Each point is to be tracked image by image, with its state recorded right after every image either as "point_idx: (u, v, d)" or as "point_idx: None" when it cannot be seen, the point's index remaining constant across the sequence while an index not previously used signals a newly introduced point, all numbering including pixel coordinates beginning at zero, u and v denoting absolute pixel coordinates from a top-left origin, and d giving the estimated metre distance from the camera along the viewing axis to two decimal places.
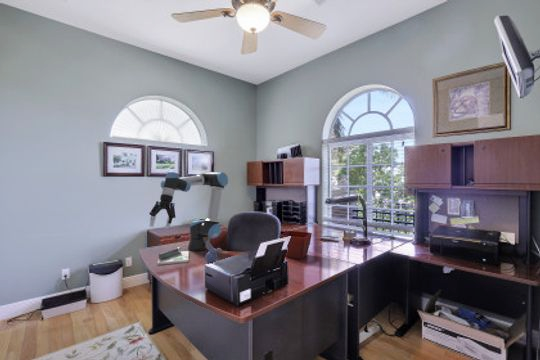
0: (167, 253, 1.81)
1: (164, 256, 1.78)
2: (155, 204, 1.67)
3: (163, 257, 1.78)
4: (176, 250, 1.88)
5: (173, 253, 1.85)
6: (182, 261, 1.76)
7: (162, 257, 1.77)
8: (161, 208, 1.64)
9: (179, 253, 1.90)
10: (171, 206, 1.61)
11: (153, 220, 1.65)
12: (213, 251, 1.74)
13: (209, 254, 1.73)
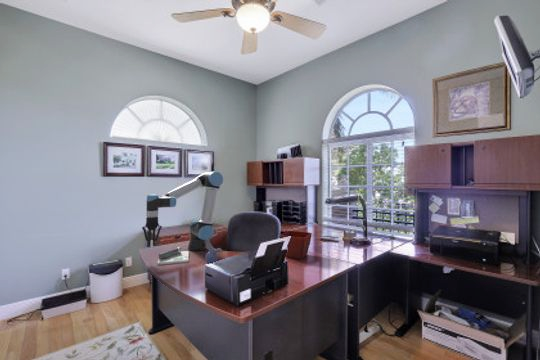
0: (167, 253, 1.81)
1: (164, 256, 1.78)
2: (143, 230, 1.74)
3: (163, 257, 1.78)
4: (176, 250, 1.88)
5: (173, 253, 1.85)
6: (182, 261, 1.76)
7: (162, 257, 1.77)
8: None
9: (179, 253, 1.90)
10: (159, 230, 1.77)
11: None
12: (213, 251, 1.74)
13: (209, 254, 1.73)
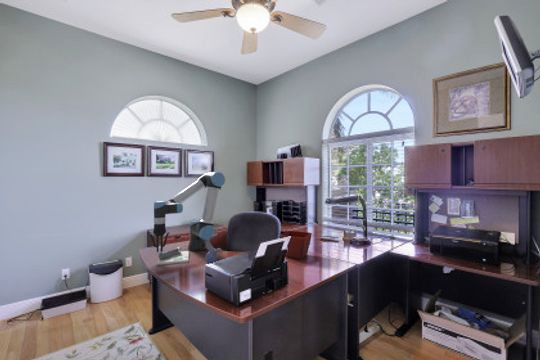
0: (167, 253, 1.81)
1: (164, 256, 1.78)
2: (151, 237, 1.76)
3: (163, 257, 1.77)
4: (176, 250, 1.88)
5: (173, 253, 1.85)
6: (182, 261, 1.76)
7: (162, 257, 1.77)
8: (157, 236, 1.77)
9: (179, 253, 1.90)
10: (167, 236, 1.79)
11: None
12: (213, 251, 1.74)
13: (209, 254, 1.73)
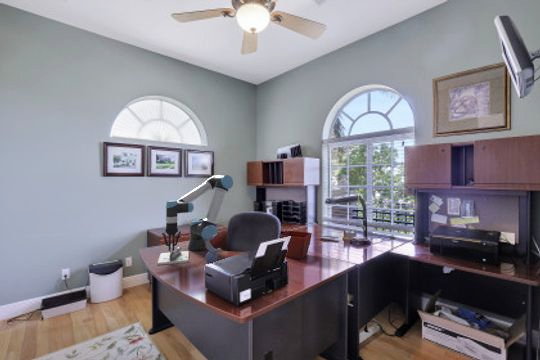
0: (175, 253, 1.80)
1: (174, 257, 1.77)
2: None
3: (173, 257, 1.76)
4: (178, 250, 1.88)
5: (177, 253, 1.85)
6: (182, 261, 1.76)
7: (173, 258, 1.76)
8: None
9: (180, 253, 1.90)
10: None
11: None
12: (213, 251, 1.74)
13: (209, 254, 1.73)
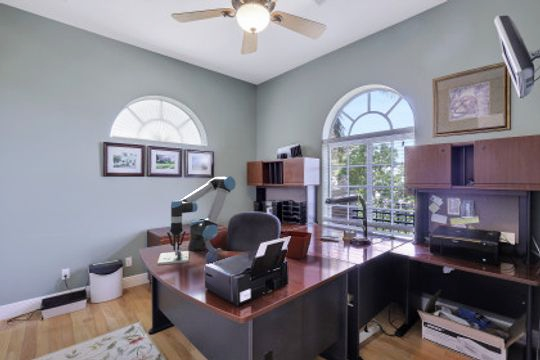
0: (180, 253, 1.81)
1: None
2: (168, 235, 1.79)
3: (180, 257, 1.78)
4: (180, 250, 1.89)
5: None
6: (182, 261, 1.76)
7: (180, 257, 1.77)
8: (174, 235, 1.81)
9: None
10: (183, 235, 1.82)
11: None
12: (213, 251, 1.74)
13: (209, 254, 1.73)
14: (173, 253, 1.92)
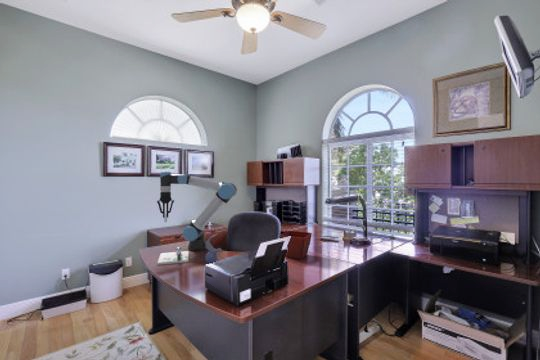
0: (180, 253, 1.81)
1: None
2: (158, 203, 1.94)
3: (180, 257, 1.78)
4: (180, 250, 1.89)
5: None
6: (182, 261, 1.76)
7: (180, 257, 1.77)
8: None
9: None
10: (172, 203, 1.97)
11: None
12: (213, 251, 1.74)
13: (209, 254, 1.73)
14: (173, 253, 1.92)
